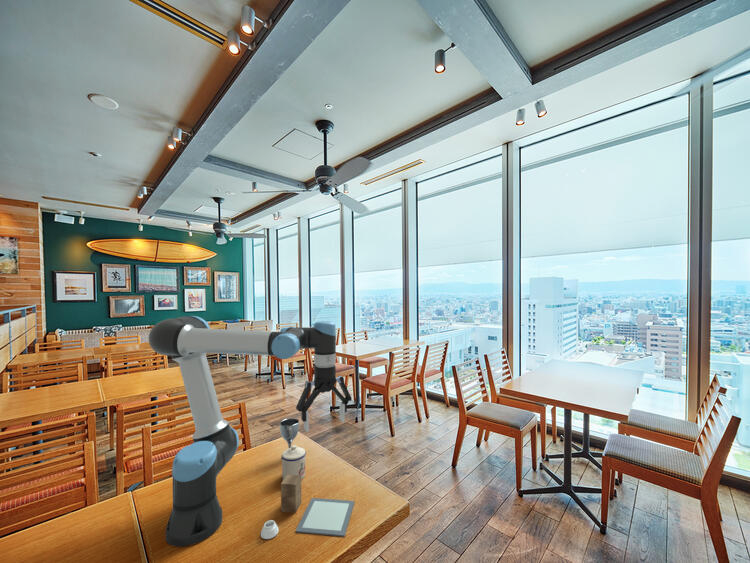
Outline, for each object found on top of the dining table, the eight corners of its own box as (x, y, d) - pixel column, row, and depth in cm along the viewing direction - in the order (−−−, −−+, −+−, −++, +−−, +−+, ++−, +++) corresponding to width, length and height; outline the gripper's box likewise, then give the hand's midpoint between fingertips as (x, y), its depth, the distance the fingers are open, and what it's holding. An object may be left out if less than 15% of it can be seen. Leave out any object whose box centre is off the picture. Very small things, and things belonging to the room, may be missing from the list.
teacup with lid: (303, 483, 118) (303, 451, 118) (279, 484, 118) (278, 452, 118) (309, 465, 130) (308, 436, 130) (286, 466, 130) (286, 437, 130)
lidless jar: (261, 529, 96) (260, 542, 91) (261, 519, 96) (260, 531, 91) (278, 525, 97) (278, 538, 92) (278, 516, 97) (278, 527, 92)
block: (281, 511, 103) (281, 483, 103) (287, 501, 108) (287, 474, 108) (295, 512, 103) (295, 484, 103) (301, 502, 108) (301, 475, 108)
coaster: (295, 532, 94) (295, 530, 94) (311, 499, 109) (311, 497, 109) (344, 536, 92) (344, 535, 92) (354, 502, 107) (354, 500, 107)
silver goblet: (276, 461, 134) (276, 425, 134) (285, 451, 141) (285, 417, 142) (294, 462, 132) (294, 426, 133) (302, 452, 140) (301, 418, 140)
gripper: (294, 372, 102) (293, 438, 102) (360, 362, 116) (360, 421, 115) (287, 367, 109) (286, 430, 108) (351, 359, 122) (351, 414, 122)
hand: (324, 425), depth 112 cm, fingers open, 13 cm apart
